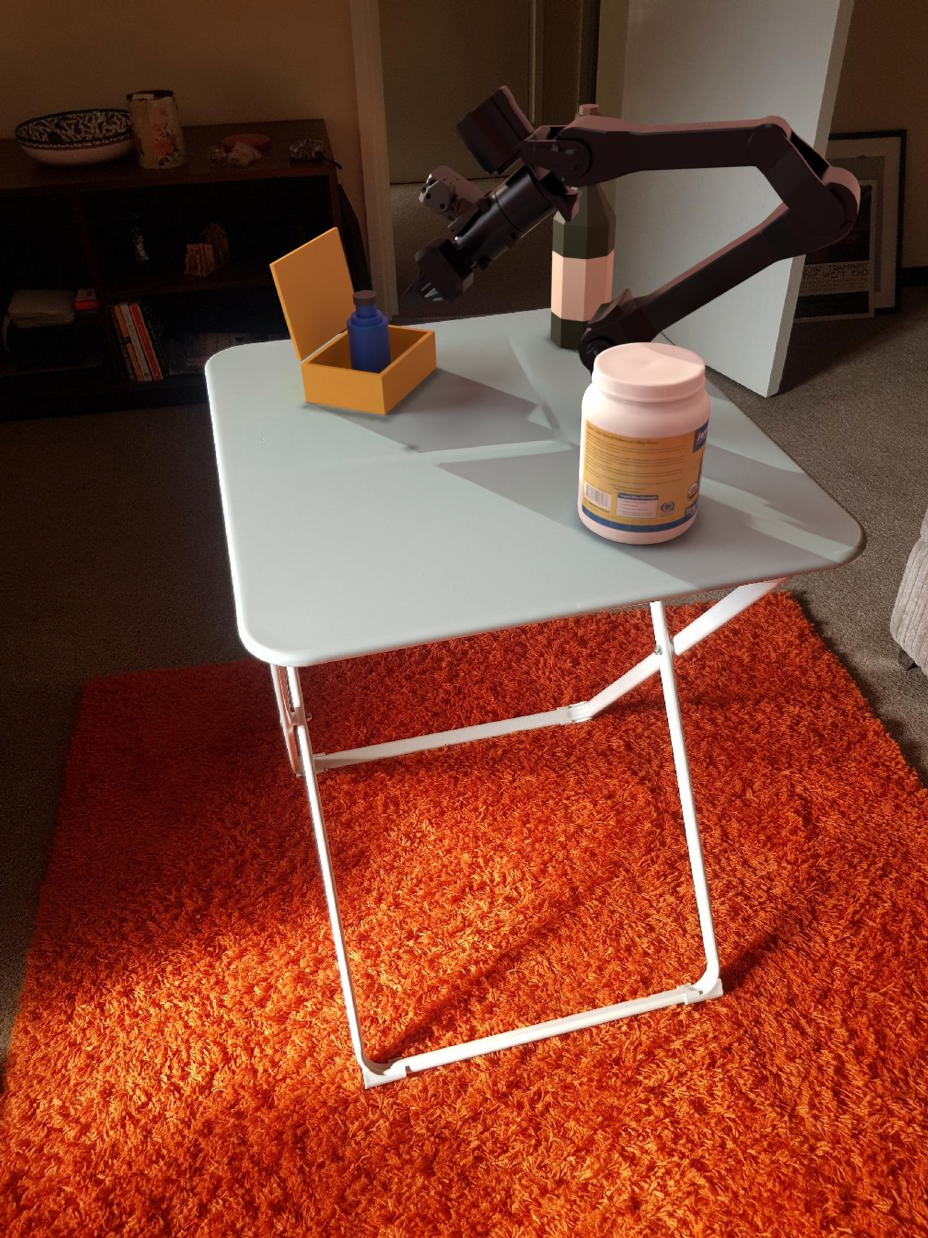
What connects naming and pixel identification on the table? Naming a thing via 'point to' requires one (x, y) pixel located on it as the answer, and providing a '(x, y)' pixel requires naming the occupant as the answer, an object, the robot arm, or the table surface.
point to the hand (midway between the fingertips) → (417, 291)
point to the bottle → (368, 335)
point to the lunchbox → (367, 391)
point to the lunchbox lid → (314, 292)
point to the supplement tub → (643, 442)
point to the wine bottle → (581, 261)
